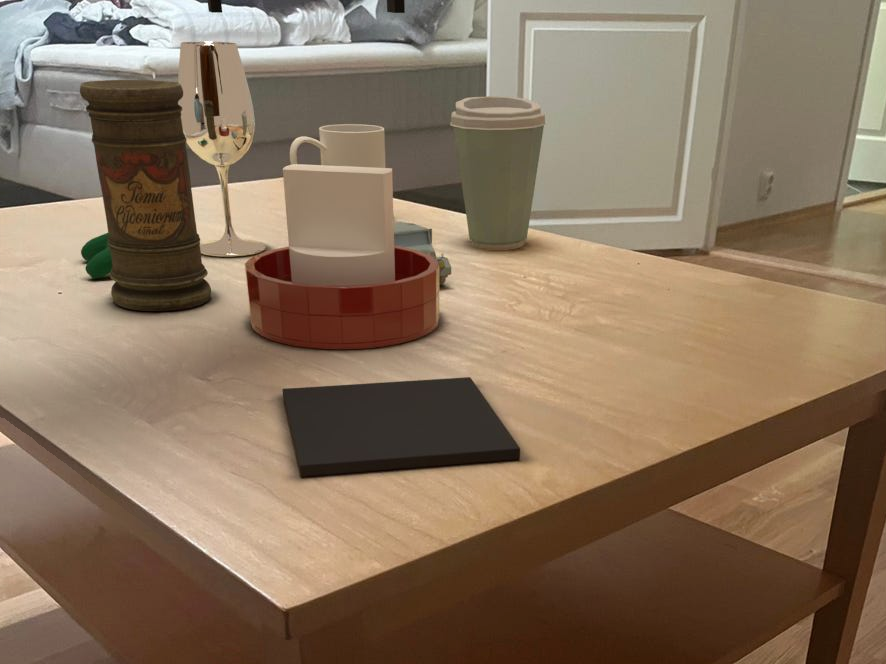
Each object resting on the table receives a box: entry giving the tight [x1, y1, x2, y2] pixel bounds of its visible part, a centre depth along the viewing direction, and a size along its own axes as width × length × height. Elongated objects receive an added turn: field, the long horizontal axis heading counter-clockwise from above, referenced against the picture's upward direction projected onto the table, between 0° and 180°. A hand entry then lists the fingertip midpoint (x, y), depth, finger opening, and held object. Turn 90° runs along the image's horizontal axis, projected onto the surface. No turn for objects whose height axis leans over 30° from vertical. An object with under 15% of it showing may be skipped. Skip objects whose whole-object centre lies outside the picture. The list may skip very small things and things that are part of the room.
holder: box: [281, 376, 521, 477], centre depth 68 cm, size 14×14×1 cm
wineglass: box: [177, 41, 266, 258], centre depth 107 cm, size 8×8×20 cm
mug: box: [289, 123, 386, 168], centre depth 124 cm, size 12×8×10 cm, turn 123°
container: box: [79, 79, 212, 312], centre depth 90 cm, size 9×9×18 cm
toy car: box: [394, 221, 452, 286], centre depth 102 cm, size 6×10×5 cm, turn 35°
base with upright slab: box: [282, 163, 395, 286], centre depth 86 cm, size 9×9×12 cm
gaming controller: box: [80, 232, 113, 280], centre depth 103 cm, size 9×4×6 cm
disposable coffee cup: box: [449, 95, 547, 251], centre depth 113 cm, size 11×11×15 cm
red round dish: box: [244, 245, 441, 350], centre depth 88 cm, size 17×17×5 cm
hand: (307, 13), depth 75 cm, fingers open, 13 cm apart
